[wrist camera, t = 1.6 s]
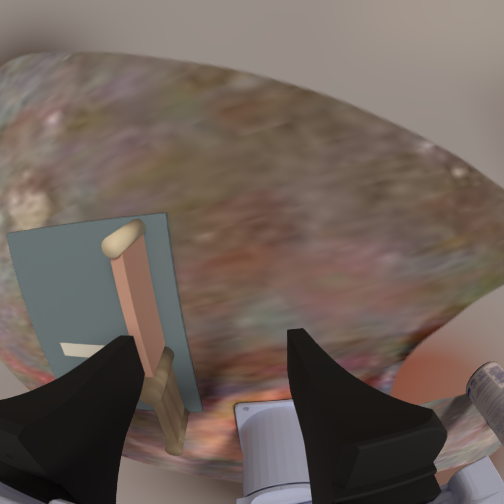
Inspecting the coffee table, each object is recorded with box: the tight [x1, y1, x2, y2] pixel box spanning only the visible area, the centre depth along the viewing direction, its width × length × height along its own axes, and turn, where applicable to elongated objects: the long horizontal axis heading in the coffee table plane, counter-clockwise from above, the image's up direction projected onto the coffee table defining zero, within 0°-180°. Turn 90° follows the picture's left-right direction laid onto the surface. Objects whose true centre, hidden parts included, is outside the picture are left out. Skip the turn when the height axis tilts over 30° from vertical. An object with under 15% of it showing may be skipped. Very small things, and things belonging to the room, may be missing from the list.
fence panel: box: [101, 219, 166, 377], centre depth 18 cm, size 10×1×4 cm, turn 4°
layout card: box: [6, 212, 203, 412], centre depth 22 cm, size 15×18×1 cm
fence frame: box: [140, 346, 189, 456], centre depth 21 cm, size 2×8×5 cm, turn 4°
